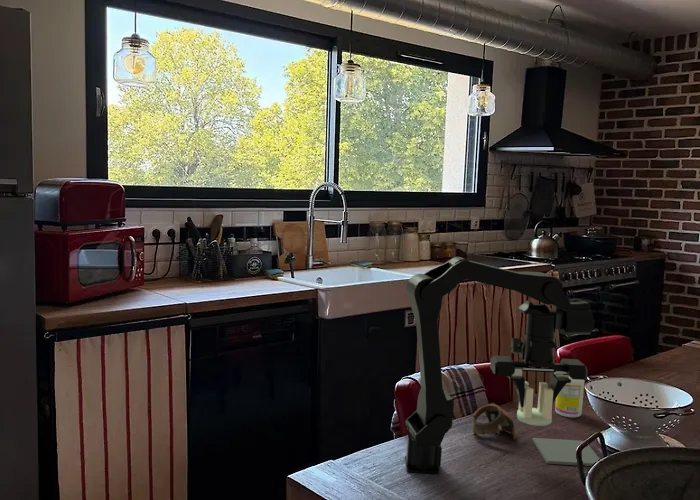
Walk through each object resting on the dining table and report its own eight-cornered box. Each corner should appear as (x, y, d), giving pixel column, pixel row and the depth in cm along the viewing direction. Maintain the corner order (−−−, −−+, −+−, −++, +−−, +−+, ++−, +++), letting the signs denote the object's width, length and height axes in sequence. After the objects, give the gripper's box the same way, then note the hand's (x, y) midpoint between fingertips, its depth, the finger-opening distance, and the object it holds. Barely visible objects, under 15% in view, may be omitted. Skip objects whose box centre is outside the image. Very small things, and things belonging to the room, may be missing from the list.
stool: (521, 424, 130) (523, 390, 129) (513, 412, 137) (515, 379, 136) (555, 426, 130) (558, 392, 129) (546, 413, 137) (548, 381, 136)
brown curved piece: (522, 447, 144) (509, 419, 142) (482, 460, 146) (469, 432, 144) (513, 415, 155) (501, 388, 153) (476, 427, 157) (464, 401, 155)
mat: (547, 463, 135) (547, 460, 135) (532, 440, 147) (532, 437, 147) (604, 466, 135) (604, 464, 135) (584, 443, 147) (585, 440, 147)
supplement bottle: (564, 407, 170) (568, 360, 169) (586, 415, 165) (591, 367, 163) (549, 411, 166) (553, 364, 165) (571, 420, 161) (576, 371, 159)
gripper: (573, 327, 139) (568, 396, 141) (487, 323, 140) (483, 392, 141) (591, 340, 128) (585, 415, 130) (497, 336, 128) (492, 410, 130)
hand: (535, 407), depth 133 cm, fingers closed on stool, 5 cm apart
